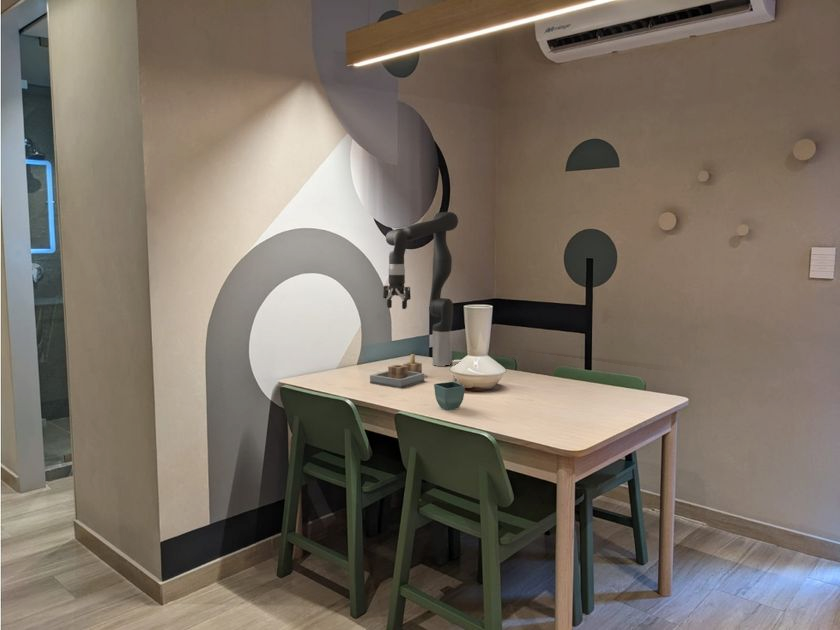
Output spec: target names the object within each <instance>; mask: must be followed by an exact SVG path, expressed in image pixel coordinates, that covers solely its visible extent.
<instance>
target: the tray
mask: <svg viewBox="0 0 840 630" xmlns="http://www.w3.org/2000/svg"><path fill="white" fill-rule="evenodd" d="M423 381H424V382H425V373H424V372H422V373H418V372H411V371H408V377H406V378H403V379H396V378H390V377H388V370H386V371H385V370H384V371H382V372H378V373H374V374H370V376H369V383H370V384H373V385H378V384H379V385H378V386H385V387H391V388H397V389H403V387H404V388H407V387H411V386H414V385H416V383H417V384H420V383H424V382H423ZM419 382H420V383H419ZM413 384H414V385H413ZM406 386H407V387H406Z"/></svg>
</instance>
